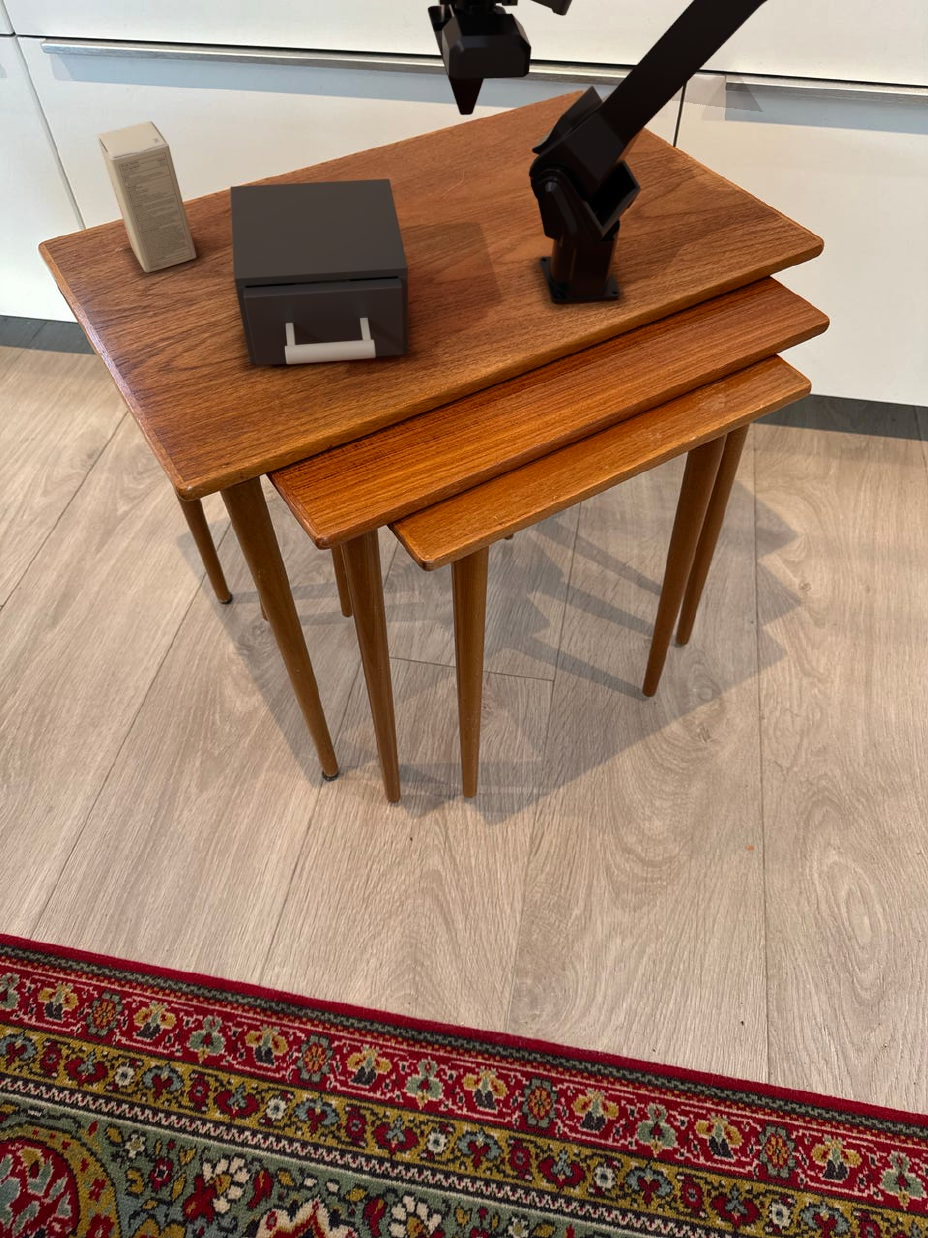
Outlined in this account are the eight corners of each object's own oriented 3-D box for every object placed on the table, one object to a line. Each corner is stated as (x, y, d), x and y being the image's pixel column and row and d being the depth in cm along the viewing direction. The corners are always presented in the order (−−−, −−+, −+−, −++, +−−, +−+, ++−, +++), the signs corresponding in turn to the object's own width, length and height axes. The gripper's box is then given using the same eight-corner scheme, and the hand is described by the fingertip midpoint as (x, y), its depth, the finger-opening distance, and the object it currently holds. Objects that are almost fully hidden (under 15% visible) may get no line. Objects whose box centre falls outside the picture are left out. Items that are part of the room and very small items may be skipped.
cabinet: (408, 353, 80) (407, 267, 73) (250, 365, 78) (233, 278, 71) (391, 264, 87) (389, 178, 80) (245, 273, 85) (230, 185, 78)
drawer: (409, 388, 76) (409, 321, 71) (258, 400, 75) (245, 332, 69) (387, 271, 85) (385, 203, 79) (251, 280, 83) (239, 211, 77)
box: (182, 234, 88) (155, 118, 79) (198, 259, 86) (172, 143, 77) (128, 249, 86) (94, 131, 77) (143, 274, 84) (110, 157, 75)
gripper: (614, -52, 63) (580, 168, 76) (555, -153, 73) (534, 57, 86) (453, -50, 61) (446, 174, 74) (416, -152, 71) (416, 60, 84)
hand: (465, 112), depth 80 cm, fingers closed
